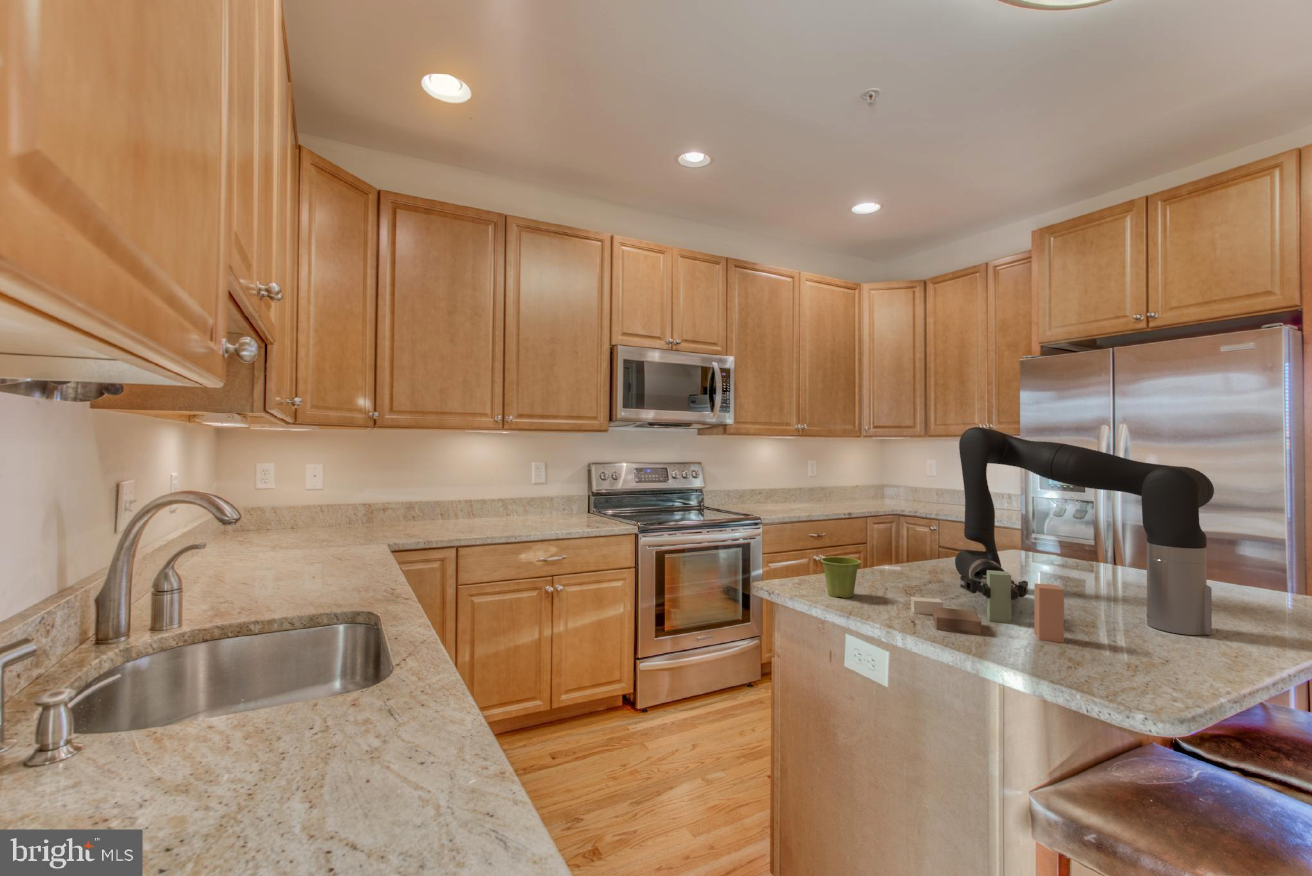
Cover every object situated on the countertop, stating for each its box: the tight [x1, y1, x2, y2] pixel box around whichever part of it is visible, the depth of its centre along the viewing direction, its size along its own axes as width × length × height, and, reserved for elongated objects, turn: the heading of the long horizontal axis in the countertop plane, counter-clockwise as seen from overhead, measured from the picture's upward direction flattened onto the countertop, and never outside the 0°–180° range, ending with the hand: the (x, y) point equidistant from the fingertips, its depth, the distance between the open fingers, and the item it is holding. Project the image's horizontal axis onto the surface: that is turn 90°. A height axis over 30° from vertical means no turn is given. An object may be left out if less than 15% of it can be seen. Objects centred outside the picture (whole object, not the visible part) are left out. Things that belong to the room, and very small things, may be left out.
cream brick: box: [910, 596, 944, 615], centre depth 132 cm, size 6×3×3 cm, turn 78°
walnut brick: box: [932, 607, 982, 636], centre depth 122 cm, size 8×8×3 cm
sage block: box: [986, 570, 1012, 624], centre depth 127 cm, size 4×4×10 cm
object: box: [820, 556, 861, 599], centre depth 146 cm, size 9×9×9 cm
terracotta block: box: [1033, 582, 1065, 643], centre depth 115 cm, size 4×4×10 cm
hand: (1001, 594), depth 124 cm, fingers closed on sage block, 4 cm apart
